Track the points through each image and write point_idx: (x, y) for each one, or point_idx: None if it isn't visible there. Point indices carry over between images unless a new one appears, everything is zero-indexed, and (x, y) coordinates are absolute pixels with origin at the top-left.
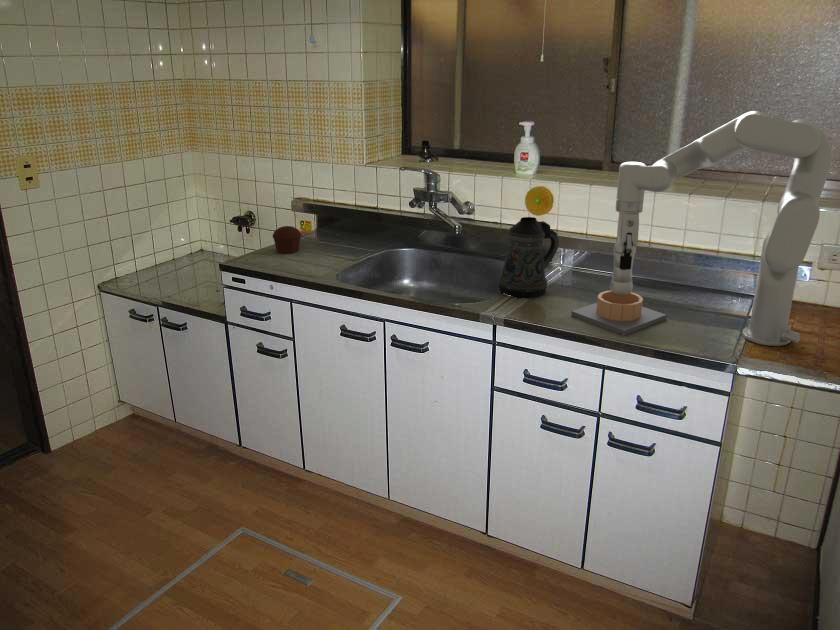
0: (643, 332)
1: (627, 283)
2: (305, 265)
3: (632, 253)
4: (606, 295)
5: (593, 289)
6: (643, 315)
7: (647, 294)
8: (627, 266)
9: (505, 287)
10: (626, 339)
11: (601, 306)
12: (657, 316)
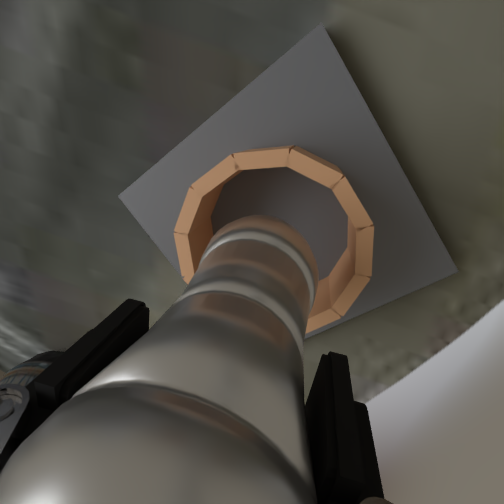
0: (441, 184)
1: (310, 282)
2: None
3: (296, 477)
4: None
5: (26, 220)
6: (315, 142)
7: (33, 21)
8: (361, 408)
9: None
10: (488, 268)
11: None
12: (337, 80)
